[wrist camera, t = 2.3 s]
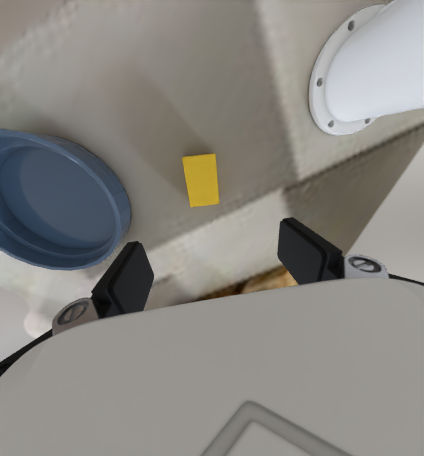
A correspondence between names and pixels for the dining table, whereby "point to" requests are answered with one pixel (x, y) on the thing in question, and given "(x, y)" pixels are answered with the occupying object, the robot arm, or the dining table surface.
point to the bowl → (58, 203)
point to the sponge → (201, 179)
